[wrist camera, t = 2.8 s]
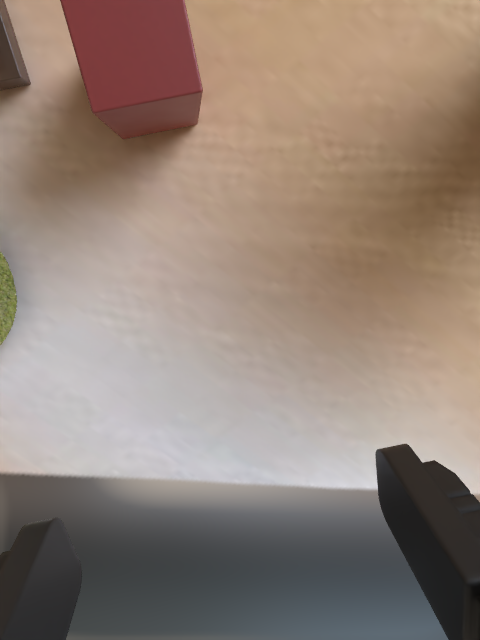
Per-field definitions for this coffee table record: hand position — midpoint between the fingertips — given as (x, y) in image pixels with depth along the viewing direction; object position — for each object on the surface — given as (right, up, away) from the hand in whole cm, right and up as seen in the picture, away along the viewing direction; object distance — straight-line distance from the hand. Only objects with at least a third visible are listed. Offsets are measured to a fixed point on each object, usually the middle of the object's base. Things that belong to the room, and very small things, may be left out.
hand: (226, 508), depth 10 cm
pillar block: (-5, +19, +16) cm, 25 cm away
